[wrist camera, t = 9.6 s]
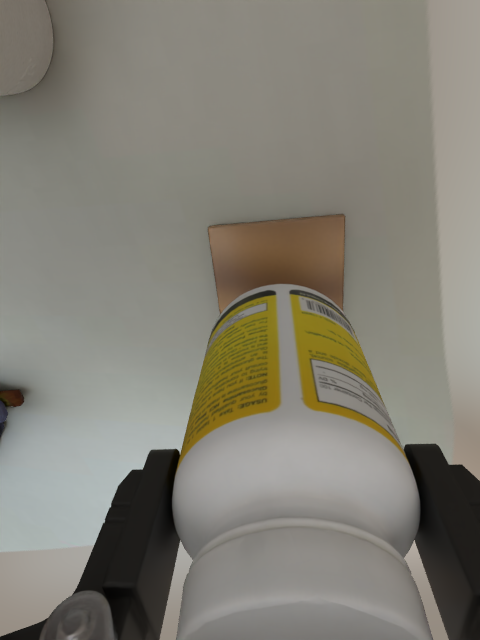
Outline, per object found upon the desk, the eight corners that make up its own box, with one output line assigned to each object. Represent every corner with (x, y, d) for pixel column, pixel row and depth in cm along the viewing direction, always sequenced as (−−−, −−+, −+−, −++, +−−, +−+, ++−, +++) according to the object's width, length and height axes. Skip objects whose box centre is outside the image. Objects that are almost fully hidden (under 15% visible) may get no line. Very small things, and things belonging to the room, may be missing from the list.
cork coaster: (208, 225, 21) (207, 227, 21) (343, 213, 21) (345, 215, 20) (224, 339, 25) (224, 343, 24) (341, 332, 24) (342, 336, 24)
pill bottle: (216, 400, 18) (156, 725, 8) (204, 280, 15) (92, 564, 6) (348, 401, 18) (445, 746, 8) (361, 277, 15) (539, 583, 5)
